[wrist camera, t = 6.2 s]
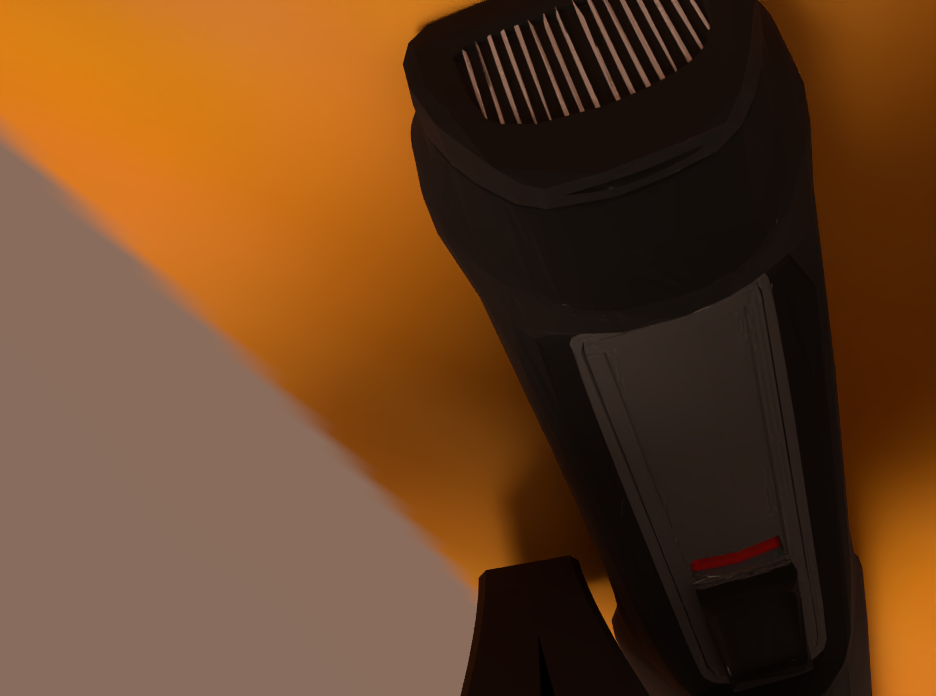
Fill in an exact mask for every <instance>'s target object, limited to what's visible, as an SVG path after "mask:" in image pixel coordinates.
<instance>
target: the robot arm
mask: <svg viewBox="0 0 936 696" xmlns="http://www.w3.org/2000/svg"><path fill="white" fill-rule="evenodd" d="M461 696H650V695H649V694H648V692H647V690H646V689H645V687H644V686H643V684H642V682H641V681H640V679H639V678H638V676H637V675H636V673H635V671H634V670H633V668H632V667H631V665H630V664H629V662H628V660H627V659H626V657H625V656H624V654H623V652H622V651H621V649H620V647H619V645H618V644H617V642H616V640H615V639H614V637H613V635H612V633H611V631H610V629H609V628H608V626H607V624H606V622H605V620H604V618H603V616H602V615H601V613H600V611H599V609H598V607H597V605H596V603H595V601H594V599H593V596H592V594H591V592H590V590H589V588H588V585H587V583H586V580H585V578H584V575H583V573H582V570H581V567H580V563H579V560H577V559H575V558H573V557H572V556H570V555H568V556H563V557H557V558H552V559H546V560H541V561H535V562H529V563H524V564H518V565H513V566H507V567H502V568H496V569H491V570H486V571H485V572H484V573H483V574H482V575H481V576H480V577H479V590H478V603H477V613H476V621H475V627H474V634H473V640H472V645H471V651H470V656H469V661H468V666H467V670H466V675H465V679H464V683H463V688H462V692H461Z"/></svg>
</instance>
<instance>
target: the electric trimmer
mask: <svg viewBox="0 0 936 696" xmlns="http://www.w3.org/2000/svg"><path fill="white" fill-rule="evenodd" d="M403 66H404V70H405V74H406V78H407V82H408V86H409V90H410V94H411V98H412V102H413V106H414V108H415V111H416V112H415V115H414V117H413V121H412V125H411V142H412V148H413V153H414V157H415V162H416V166H417V171H418V177H419V182H420V187H421V191H422V194H423V198H424V200H425V203H426V205H427V208H428V210H429V213H430V215H431V218H432V221H433V223H434V226H435V228H436V231H437V233H438V235H439V236H440V238H441V239H442V241H443V242H444V244H445V245H446V247H447V248H448V250H449V251H450V253H451V254H452V256H453V257H454V259H455V260H456V262H457V263H458V265H459V266H460V268H461V269H462V271H463V272H464V274H465V275H466V277H467V278H468V280H469V282H470V283H471V285H472V286H473V288H474V289H475V291H476V292H477V294H478V295H479V297H480V298H481V300H482V302H483V305H484V307H485V309H486V311H487V313H488V315H489V317H490V319H491V322H492V324H493V326H494V328H495V330H496V332H497V334H498V336H499V339H500V341H501V343H502V345H503V347H504V349H505V351H506V353H507V356H508V358H509V360H510V362H511V364H512V366H513V368H514V370H515V373H516V375H517V377H518V379H519V381H520V383H521V385H522V387H523V390H524V392H525V394H526V396H527V398H528V400H529V402H530V404H531V407H532V409H533V411H534V413H535V415H536V417H537V419H538V421H539V424H540V426H541V428H542V430H543V432H544V434H545V436H546V438H547V441H548V443H549V445H550V447H551V449H552V451H553V453H554V455H555V458H556V460H557V462H558V464H559V466H560V468H561V470H562V472H563V475H564V477H565V479H566V481H567V484H568V486H569V488H570V490H571V493H572V495H573V497H574V499H575V502H576V504H577V506H578V508H579V511H580V513H581V515H582V517H583V520H584V522H585V524H586V526H587V529H588V531H589V533H590V535H591V538H592V540H593V542H594V544H595V547H596V549H597V551H598V553H599V556H600V558H601V560H602V562H603V565H604V567H605V569H606V572H607V574H608V577H609V580H610V583H611V586H612V589H613V591H614V594H615V598H616V602H617V608H616V610H615V613H614V616H613V618H612V624H613V629H614V633H615V637H616V640H617V642H618V644H619V646H620V648H621V650H622V652H623V654H624V656H625V657H626V659H627V660H628V662H629V664H630V665H631V667H632V668H633V670H634V671H635V673H636V675H637V676H638V678H639V679H640V681H641V682H642V684H643V686H644V687H645V689H646V690H647V692H648V694H649V695H650V696H872V688H871V672H870V656H869V640H868V624H867V611H866V601H865V591H864V581H863V571H862V566H861V563H860V560H859V558H858V556H857V555H856V554H855V553H854V551H853V546H852V541H851V536H850V531H849V523H848V511H847V500H846V488H845V476H844V465H843V453H842V442H841V430H840V419H839V407H838V396H837V384H836V373H835V363H834V355H833V346H832V338H831V330H830V321H829V313H828V304H827V296H826V288H825V279H824V271H823V262H822V254H821V246H820V237H819V229H818V220H817V212H816V204H815V195H814V187H813V168H812V148H811V128H810V117H809V111H808V105H807V99H806V93H805V88H804V83H803V80H802V78H801V76H800V74H799V72H798V70H797V67H796V65H795V63H794V61H793V59H792V56H791V54H790V52H789V50H788V48H787V46H786V45H785V43H784V41H783V39H782V37H781V35H780V33H779V30H778V28H777V26H776V24H775V22H774V20H773V18H772V17H771V15H770V14H769V12H768V11H767V10H766V9H765V7H764V6H763V5H762V4H761V3H760V2H759V1H757V0H487V1H485V2H482V3H480V4H477V5H475V6H472V7H469V8H467V9H465V10H462V11H460V12H458V13H455V14H453V15H450V16H448V17H446V18H443V19H441V20H439V21H436V22H434V23H432V24H429V25H427V26H426V27H425V28H424V29H423V30H422V31H421V32H420V33H419V34H418V35H417V36H416V37H414V38H413V39H412V40H411V41H410V42H409V43H408V47H407V51H406V55H405V58H404V62H403ZM779 546H780V547H779ZM784 550H785V551H784ZM694 578H698V579H694ZM693 579H694V580H693ZM675 585H676V586H675ZM698 585H699V586H698ZM682 603H683V604H682ZM683 605H684V606H683ZM688 616H689V617H688ZM690 621H691V622H690ZM691 624H692V625H691ZM692 626H693V627H692ZM693 629H694V630H693ZM694 631H695V632H694Z"/></svg>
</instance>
